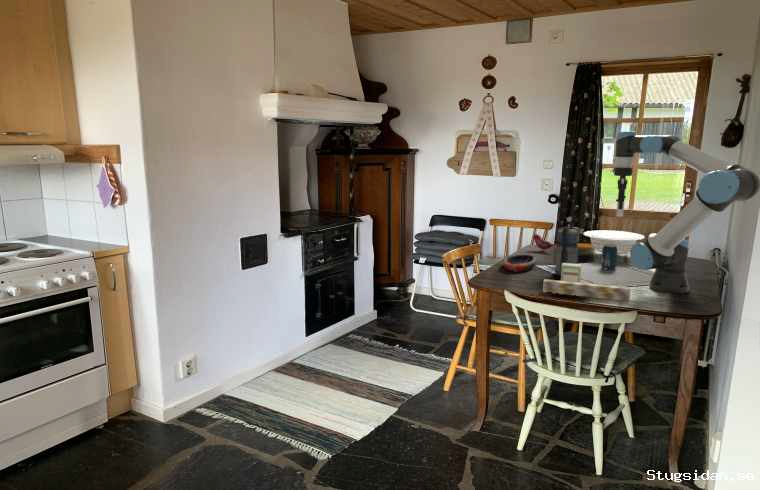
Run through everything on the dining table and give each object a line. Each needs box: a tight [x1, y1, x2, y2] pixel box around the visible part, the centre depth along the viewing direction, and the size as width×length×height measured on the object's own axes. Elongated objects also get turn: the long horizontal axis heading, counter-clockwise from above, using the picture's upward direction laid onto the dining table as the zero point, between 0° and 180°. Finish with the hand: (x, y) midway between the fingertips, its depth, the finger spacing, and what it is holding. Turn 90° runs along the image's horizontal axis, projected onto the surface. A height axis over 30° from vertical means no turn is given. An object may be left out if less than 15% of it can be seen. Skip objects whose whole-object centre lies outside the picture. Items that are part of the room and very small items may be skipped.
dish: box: [502, 253, 537, 273], centre depth 273 cm, size 16×31×5 cm, turn 147°
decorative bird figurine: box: [532, 233, 558, 253], centre depth 308 cm, size 3×18×10 cm, turn 40°
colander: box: [583, 229, 646, 256], centre depth 294 cm, size 32×32×13 cm
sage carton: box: [560, 263, 582, 283], centre depth 236 cm, size 8×5×10 cm, turn 66°
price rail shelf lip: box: [542, 278, 631, 302], centre depth 221 cm, size 34×4×5 cm, turn 66°
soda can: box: [601, 244, 618, 270], centre depth 268 cm, size 7×7×12 cm
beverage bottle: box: [554, 222, 580, 276], centre depth 255 cm, size 10×13×25 cm
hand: (619, 214), depth 236 cm, fingers open, 13 cm apart
